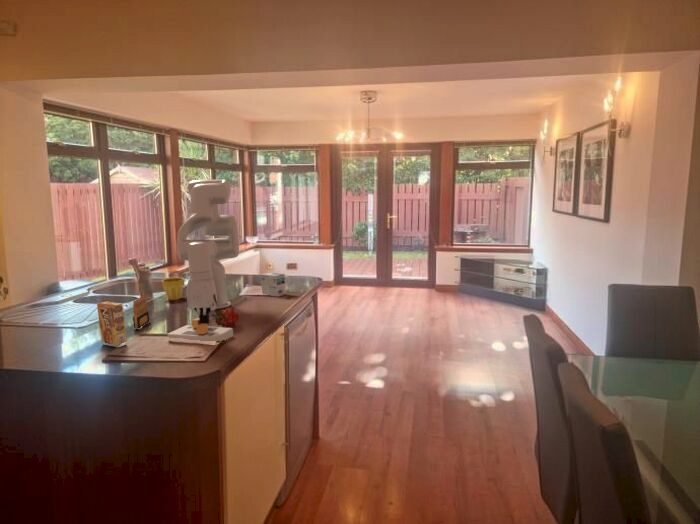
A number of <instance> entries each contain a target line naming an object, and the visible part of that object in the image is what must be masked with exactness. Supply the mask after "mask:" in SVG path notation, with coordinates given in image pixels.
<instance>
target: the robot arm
mask: <svg viewBox="0 0 700 524" xmlns="http://www.w3.org/2000/svg"><path fill="white" fill-rule="evenodd" d="M231 188H232V187H231V185H230V181H228V180H227V179H223V178H221V179H220V178H219V179H196V180H191V181H189V182H188V184H187V191H188V193H189V195H190V215H189V217H188V218H187V219H185V221H184V222H183V223H182V225H181V226H180V228H179V229H178V232H177V239H176V240H177V241H176V253H177V256H178V258H180V260H183V261H188V270H189V271H188V272H187V273H186V274H187V277H189V279H188V280H187V287H186V288H187V289H186V303H187V305H188V307H189V309H191V310H194V311H195V312H196V314H197V315H198V316H199V317H198V318H200V324H201V323H204V324H207V325H209V324H210V315H209V314H210V313H211V312H212V311H215V310H219V309H224V308H229V307H230V306H231V304H232V303H231V301H229V300H228V297H227V295H228V294H227V284H226V283H227V281H226V270H225V266H224V265H223V263H222V262H221V261H220V260H223V259H235V258H237V257H238V256H239V255H240V243H239V242H240V241H239V233H238V232H239V230H238V225H237V224H238V223H237V220H236V218H235V216H233V215H231V214H220V213H219V205H225V204H228V202H229V200H230V197H231V192H232V189H231ZM197 230H200V233H201V234H202V235H203V236H205V237H209V238H204V239H203V238H200V239H199V238H198V239H192V240H190V239H186V238H188V236H189V235H190V234H192V233H193V232H195V231H197ZM210 237H212V238H210ZM213 237H214V238H213Z"/></svg>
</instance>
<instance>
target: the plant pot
mask: <svg viewBox="0 0 700 524" xmlns="http://www.w3.org/2000/svg"><path fill="white" fill-rule="evenodd" d="M161 285H162V286H161V287H162V288H163V289H164V292H165V295H166V298H167V300H169V301H175V300H180V299H182V298H183V297H182V296H183V291H184V290H183V289H184V286H185V279H184V278H183V277H169V278H164V279H162V280H161Z"/></svg>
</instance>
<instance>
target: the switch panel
mask: <svg viewBox="0 0 700 524" xmlns="http://www.w3.org/2000/svg"><path fill="white" fill-rule="evenodd" d="M168 337H169V338H183V339H189V340H200V341H222V340H225V341H227V340H229V339H231V338H232V337H234V327H228V328H223V327H222V326H208V332H207V333H205V334H197V328H193V326H192V325H190V324H186V325H184V326H181V327H179V328H177V329H175V330H173V331H170V332H169V333H167V338H168ZM230 337H231V338H230ZM228 338H229V339H228ZM226 339H227V340H226Z"/></svg>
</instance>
